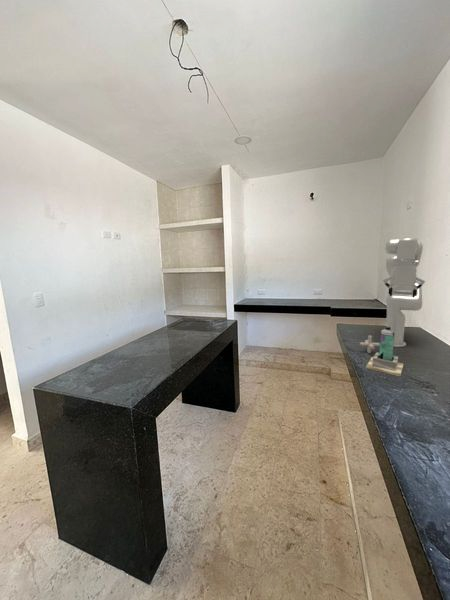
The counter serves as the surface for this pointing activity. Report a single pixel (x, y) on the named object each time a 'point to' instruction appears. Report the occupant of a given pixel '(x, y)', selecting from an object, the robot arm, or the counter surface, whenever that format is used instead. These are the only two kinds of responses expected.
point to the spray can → (386, 344)
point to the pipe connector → (369, 344)
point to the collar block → (385, 365)
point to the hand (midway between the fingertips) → (401, 296)
